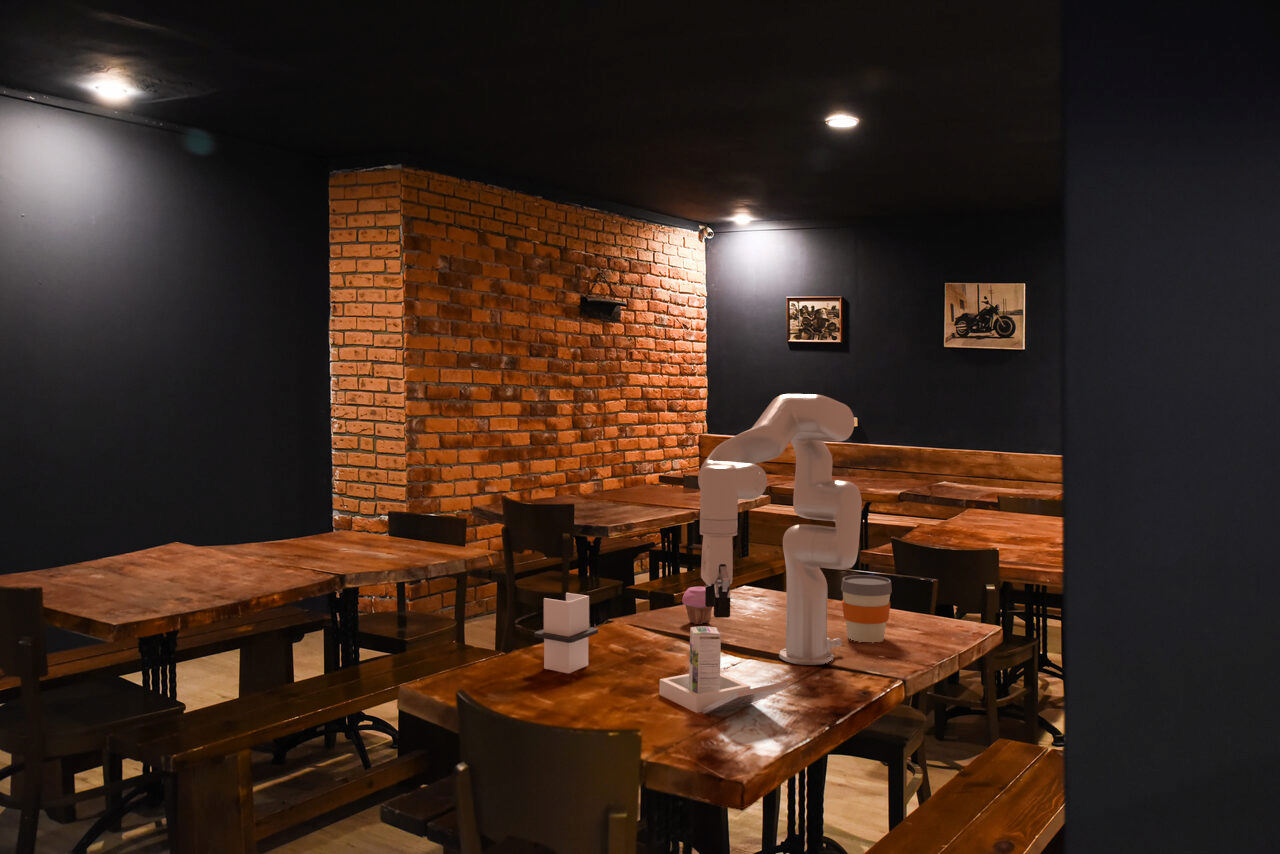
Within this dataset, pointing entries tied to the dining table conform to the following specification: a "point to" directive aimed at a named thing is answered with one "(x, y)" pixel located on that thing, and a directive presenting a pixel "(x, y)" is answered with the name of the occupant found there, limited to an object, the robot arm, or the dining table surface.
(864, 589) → the reusable coffee cup
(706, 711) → the white square slab
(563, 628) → the white flanged box
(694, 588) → the cupcake
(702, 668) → the syrup box
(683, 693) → the white piece
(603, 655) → the dining table surface
